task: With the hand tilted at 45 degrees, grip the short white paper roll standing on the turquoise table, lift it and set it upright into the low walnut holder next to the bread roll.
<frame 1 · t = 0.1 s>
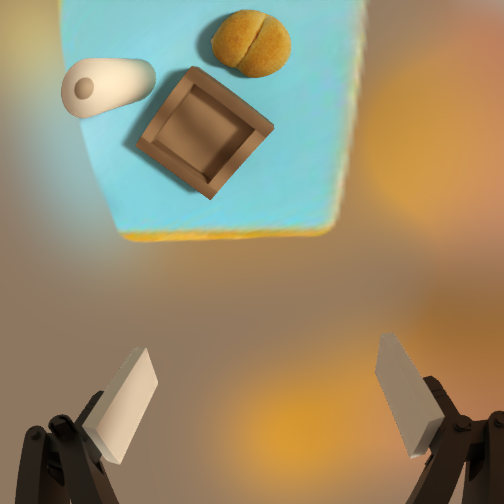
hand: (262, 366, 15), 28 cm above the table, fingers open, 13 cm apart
walnut holder: (205, 130, 34), on the table
paper roll: (134, 80, 30), on the table
bread roll: (251, 44, 28), on the table
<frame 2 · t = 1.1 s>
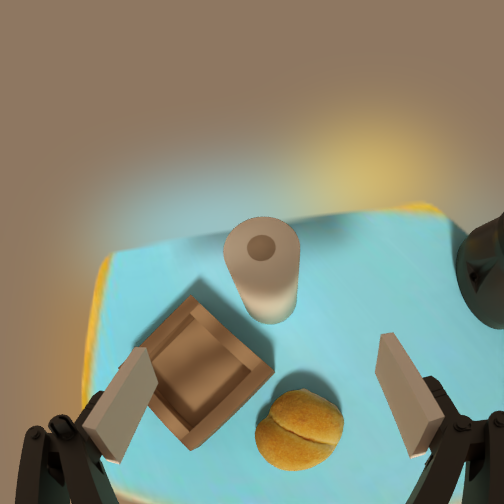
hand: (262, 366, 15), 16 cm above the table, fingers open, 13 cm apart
walnut holder: (197, 374, 30), on the table
paper roll: (270, 299, 33), on the table
bread roll: (299, 428, 26), on the table
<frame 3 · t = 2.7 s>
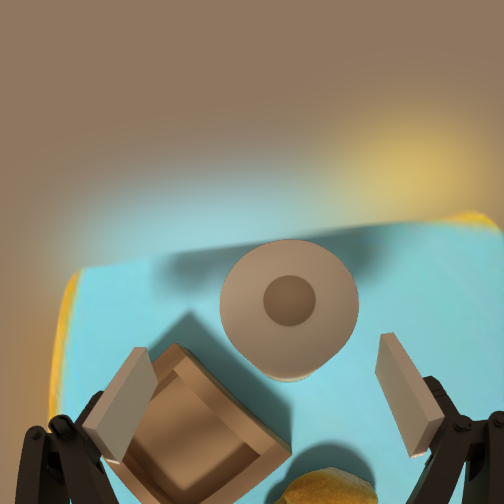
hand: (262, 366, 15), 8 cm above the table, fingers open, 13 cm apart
walnut holder: (186, 443, 19), on the table
paper roll: (288, 346, 23), on the table
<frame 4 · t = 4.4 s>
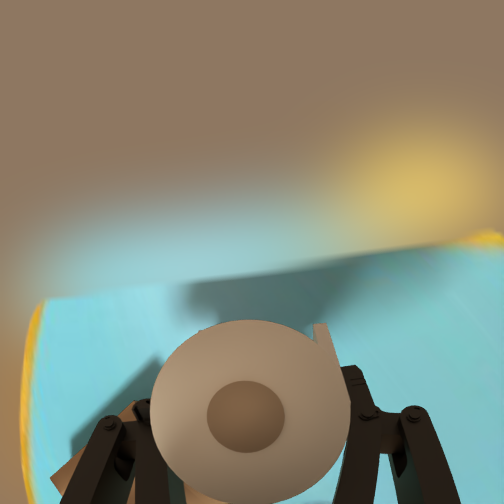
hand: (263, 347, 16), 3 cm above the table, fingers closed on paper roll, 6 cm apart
walnut holder: (157, 500, 14), on the table
paper roll: (269, 405, 18), on the table, touching gripper
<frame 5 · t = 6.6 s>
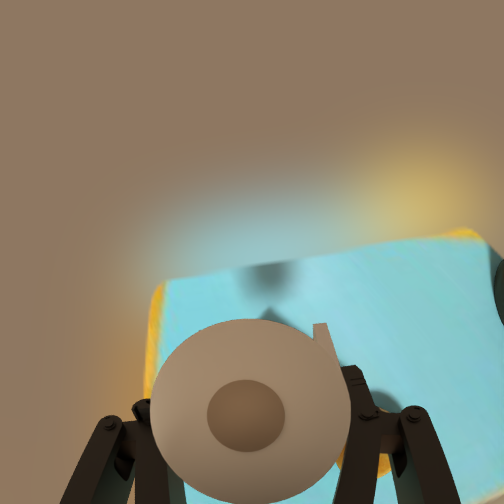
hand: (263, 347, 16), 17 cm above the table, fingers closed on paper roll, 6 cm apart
paper roll: (269, 404, 18), point 14 cm above the table, touching gripper
bread roll: (370, 442, 26), on the table
when the fingers open (6 cm above the table, at t = 8.9 s): paper roll drops 2 cm, resting on walnut holder.
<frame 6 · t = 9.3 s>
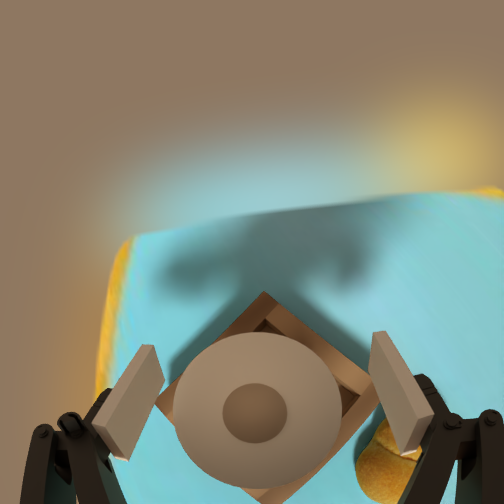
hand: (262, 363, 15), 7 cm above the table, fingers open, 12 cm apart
walnut holder: (271, 404, 20), on the table
paper roll: (271, 404, 19), point 1 cm above the table, touching walnut holder
bread roll: (403, 451, 17), on the table
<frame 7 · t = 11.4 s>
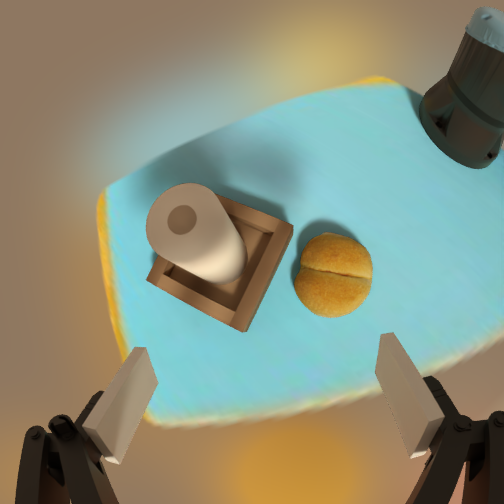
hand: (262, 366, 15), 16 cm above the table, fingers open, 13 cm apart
walnut holder: (223, 260, 33), on the table
paper roll: (221, 257, 32), point 1 cm above the table, touching walnut holder
bread roll: (332, 276, 31), on the table
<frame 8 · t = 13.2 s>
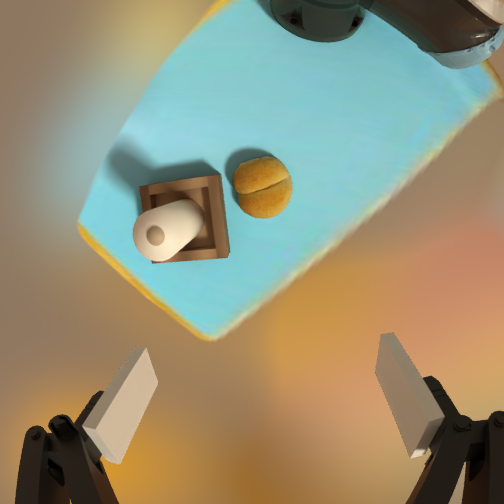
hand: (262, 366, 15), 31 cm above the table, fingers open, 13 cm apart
walnut holder: (187, 217, 44), on the table
paper roll: (186, 218, 43), point 1 cm above the table, touching walnut holder
bread roll: (262, 185, 43), on the table
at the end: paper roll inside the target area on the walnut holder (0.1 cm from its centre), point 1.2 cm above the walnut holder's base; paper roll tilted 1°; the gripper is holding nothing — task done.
